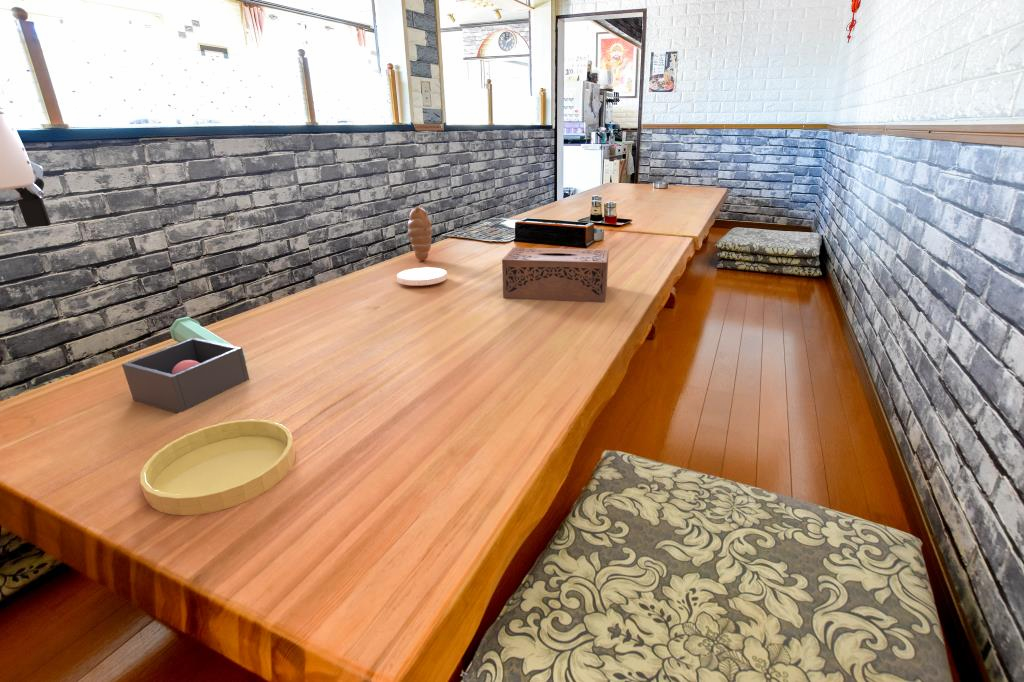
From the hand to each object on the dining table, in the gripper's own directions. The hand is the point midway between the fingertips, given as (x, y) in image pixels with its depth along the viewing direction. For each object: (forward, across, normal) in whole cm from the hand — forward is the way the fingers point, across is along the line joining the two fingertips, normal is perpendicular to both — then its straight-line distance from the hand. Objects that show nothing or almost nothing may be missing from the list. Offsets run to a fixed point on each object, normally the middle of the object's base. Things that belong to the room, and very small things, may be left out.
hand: (13, 231), depth 76 cm
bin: (+28, -3, +17) cm, 33 cm away
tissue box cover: (+28, -51, +87) cm, 105 cm away
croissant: (+28, -93, +49) cm, 109 cm away
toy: (+28, -3, +17) cm, 33 cm away
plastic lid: (+28, -66, +51) cm, 88 cm away
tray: (+28, +22, +32) cm, 48 cm away
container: (+29, -18, +13) cm, 37 cm away
